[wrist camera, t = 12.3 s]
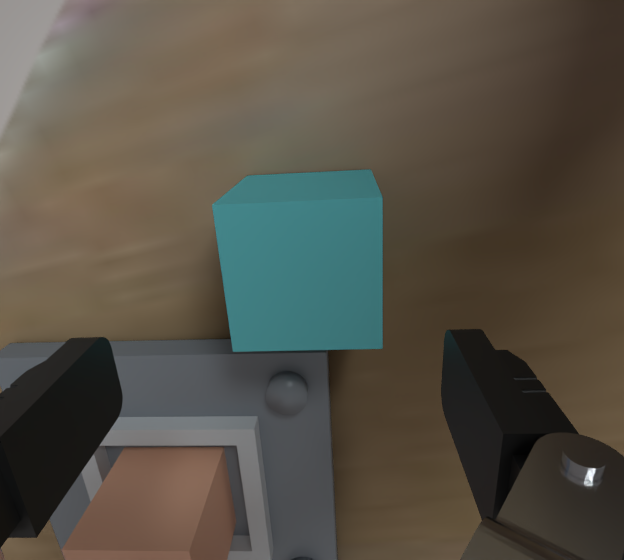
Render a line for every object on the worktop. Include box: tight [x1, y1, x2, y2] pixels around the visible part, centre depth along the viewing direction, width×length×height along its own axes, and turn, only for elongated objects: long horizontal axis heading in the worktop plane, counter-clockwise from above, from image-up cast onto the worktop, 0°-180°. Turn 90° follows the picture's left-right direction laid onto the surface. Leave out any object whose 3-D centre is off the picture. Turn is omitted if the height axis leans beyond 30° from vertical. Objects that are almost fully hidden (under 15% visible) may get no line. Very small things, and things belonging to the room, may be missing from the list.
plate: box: [0, 339, 338, 560], centre depth 26 cm, size 17×17×2 cm
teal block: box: [212, 169, 383, 352], centre depth 18 cm, size 6×6×6 cm
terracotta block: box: [62, 447, 236, 560], centre depth 23 cm, size 6×6×6 cm
